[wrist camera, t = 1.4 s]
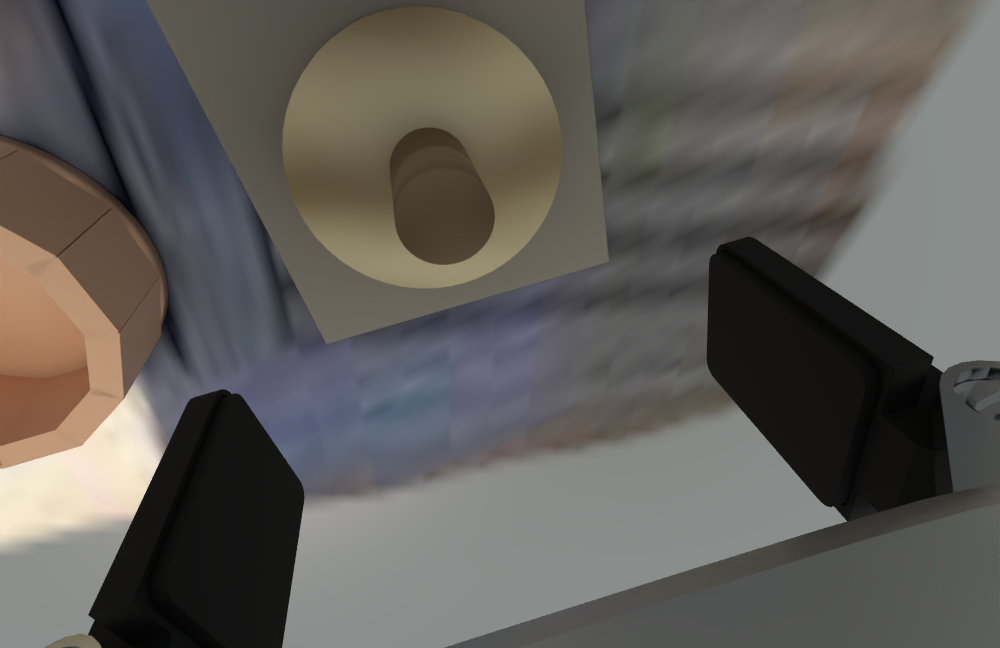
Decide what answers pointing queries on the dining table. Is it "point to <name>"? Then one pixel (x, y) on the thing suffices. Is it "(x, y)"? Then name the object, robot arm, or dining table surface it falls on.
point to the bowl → (68, 303)
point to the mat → (261, 114)
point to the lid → (422, 147)
